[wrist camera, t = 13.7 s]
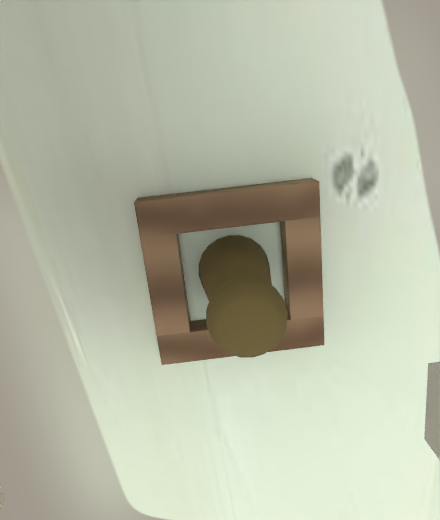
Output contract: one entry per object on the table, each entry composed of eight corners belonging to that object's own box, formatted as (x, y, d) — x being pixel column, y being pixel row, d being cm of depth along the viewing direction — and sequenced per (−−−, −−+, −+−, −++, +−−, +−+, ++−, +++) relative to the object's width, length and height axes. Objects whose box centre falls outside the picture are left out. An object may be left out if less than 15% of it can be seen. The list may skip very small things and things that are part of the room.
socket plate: (137, 198, 33) (134, 202, 32) (312, 178, 34) (319, 181, 32) (163, 352, 38) (161, 364, 36) (317, 333, 38) (324, 344, 36)
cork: (248, 313, 37) (268, 387, 27) (186, 284, 36) (182, 350, 26) (282, 254, 36) (318, 308, 25) (218, 222, 34) (228, 265, 24)
